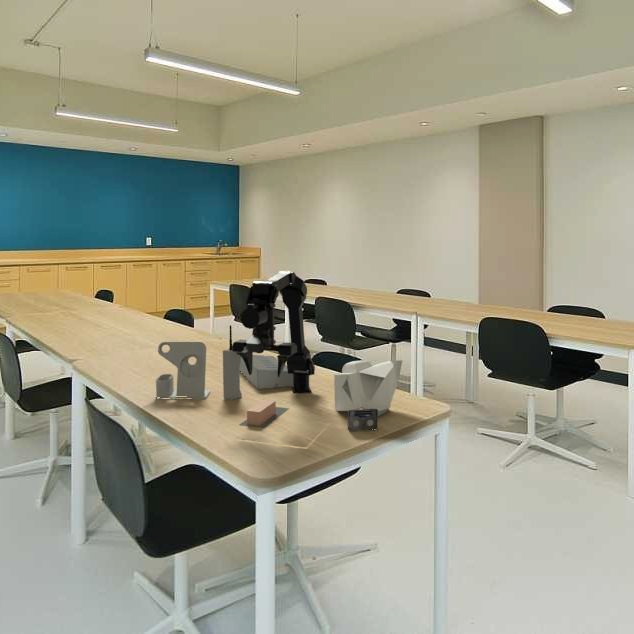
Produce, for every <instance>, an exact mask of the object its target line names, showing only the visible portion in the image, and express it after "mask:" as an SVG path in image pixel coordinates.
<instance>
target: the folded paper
mask: <svg viewBox="0 0 634 634" xmlns="http://www.w3.org/2000/svg"><path fill="white" fill-rule="evenodd" d="M402 364H403V360H387V361H384V362H381V363H377V364H374V365H373V364H372V363H371V362H370V361H368V360H366V359H365V360H364V359H363V360H353V361H350V362H347V363H345V364H344V365H343V366H342V369H341V372H342V373H337V374H334V375H333V377H334V378H333V379H334V410H335V411H337V412H348V410H358V409H377V410H378V416H379V417H380V415H381V416H382V415H383V414H385V413H387V412H388V411H390V408H391V403H392V401H393V399H394V395H395V393H396V390H397V387H398V384H399V380H400V374H401V371H402ZM387 410H388V411H387ZM384 412H385V413H384Z"/></svg>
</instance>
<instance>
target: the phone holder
mask: <svg viewBox="0 0 634 634" xmlns="http://www.w3.org/2000/svg"><path fill="white" fill-rule="evenodd" d="M164 346H168V347H169V351H166V352H165V351H163V349H162V348H163V347H164ZM157 353H158V355H160V356H161V357H162V358H164V359H165V360H166V361H168V362H169V363H171V364H172V365H173V366H175V367H176V368H177V375H176V376H177V380H176V389H175V388H174V375H173V374H171V373H170V374H169V373H165V374H160V375H159V377H157V378H156V379H155V387H156V388H155V390H156V392H155V393H156V394H155V397H156V396H157V397H160V398H192V399H191V400H206V399H207V398H208V397H209V395H210V393H211V390H210V389H206V372H207V371H206V369H207V367H206V366H207V365H206V364H207V345H206V344H205V343H204V342H202V341H163V342H161V343H159V345H158V347H157ZM192 357H193V358H195V359H196V360H195V363H194V364H191V363H189V361H190V360H189V359H190V358H192ZM175 396H187V397H175ZM205 398H206V399H205Z"/></svg>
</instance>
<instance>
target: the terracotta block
mask: <svg viewBox="0 0 634 634" xmlns="http://www.w3.org/2000/svg"><path fill="white" fill-rule="evenodd" d="M276 405H277V402H276V400H270V399H263V400H261V401H260V402H258V403H256V404H255V405H254V406H251V407H250V408H249V409H247V410H246V420H247V424H250V425H259V426H260V425H261V424H263V423H264V422H265V421H267V420H268V419H269V418H271V417H272V416H273V415H275V414H276V407H277V406H276Z"/></svg>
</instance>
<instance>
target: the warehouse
mask: <svg viewBox="0 0 634 634" xmlns="http://www.w3.org/2000/svg"><path fill="white" fill-rule="evenodd" d="M239 369H240V371H241V372H242V373H243V374H242V373H241V372H240V373H241V374H242V375H243V376H244V375H245V376H246V377H245V376H244V377H245V379H247V380H248V381H249V382H250V383H251V385H253V386H254V387H255V388H256V389H257V390H263V389H264V388H266V389H274V388H273V387H276V388H283V387H282V386H289V387H293V374H288V369H287V364H285V366H284V368H283V371H282V373H281V376H280V377H278V358H276V357H275V356H274V355H262V354H260V355H259V354H253V363H252V374H251V375H249V373H248V370H247V367H246V365H245V362H244V360H243V358H242V357H241V364H240V367H239ZM264 390H265V389H264Z"/></svg>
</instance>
